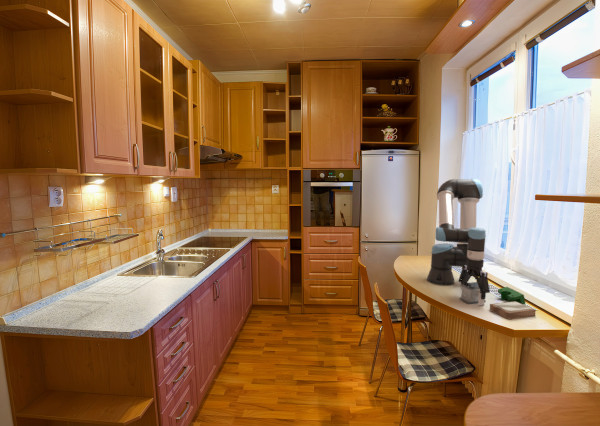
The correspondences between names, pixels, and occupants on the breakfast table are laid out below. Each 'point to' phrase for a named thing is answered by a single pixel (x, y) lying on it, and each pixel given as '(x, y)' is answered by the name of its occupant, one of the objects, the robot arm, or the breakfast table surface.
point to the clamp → (511, 295)
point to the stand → (512, 310)
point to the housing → (470, 293)
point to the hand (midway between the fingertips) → (472, 300)
